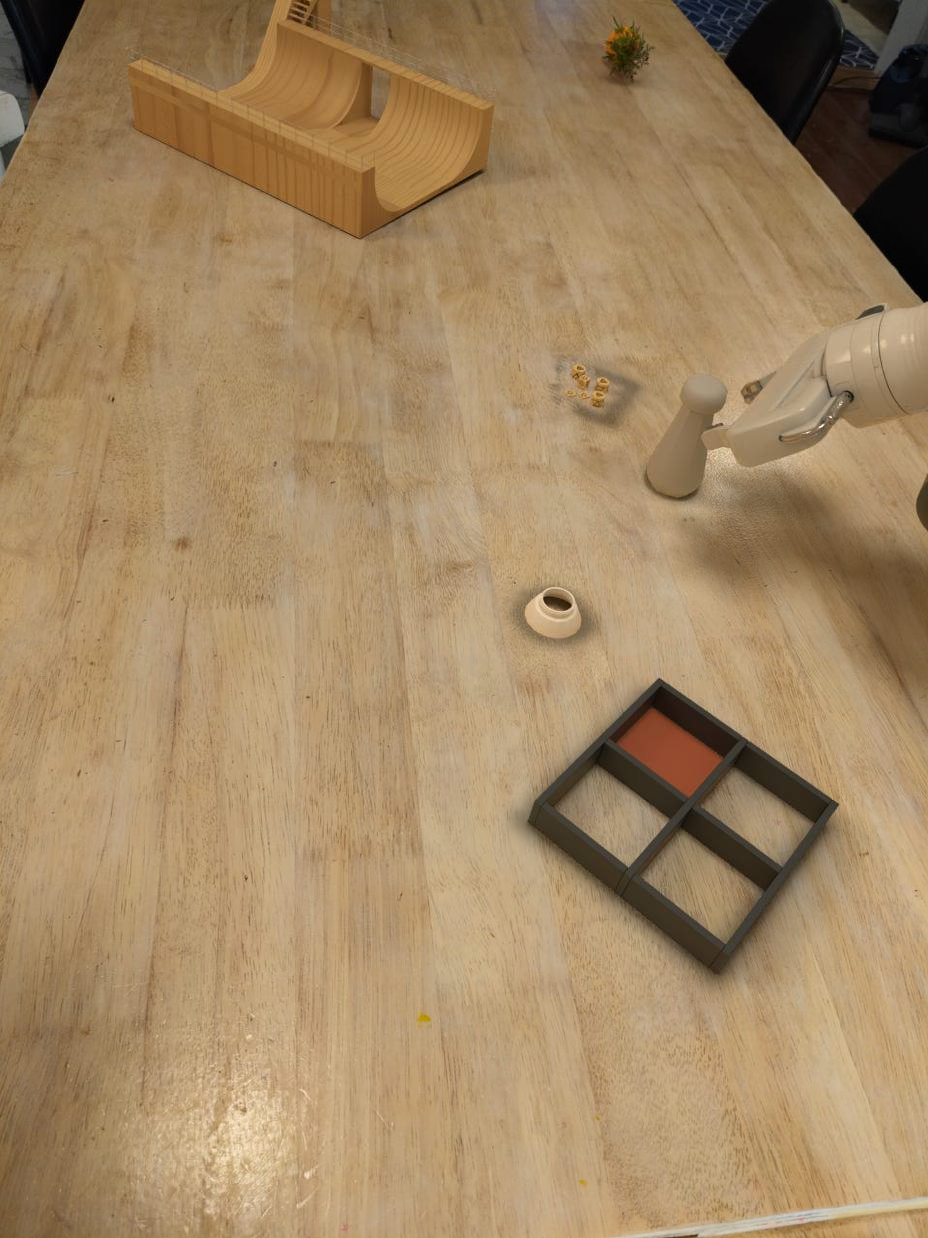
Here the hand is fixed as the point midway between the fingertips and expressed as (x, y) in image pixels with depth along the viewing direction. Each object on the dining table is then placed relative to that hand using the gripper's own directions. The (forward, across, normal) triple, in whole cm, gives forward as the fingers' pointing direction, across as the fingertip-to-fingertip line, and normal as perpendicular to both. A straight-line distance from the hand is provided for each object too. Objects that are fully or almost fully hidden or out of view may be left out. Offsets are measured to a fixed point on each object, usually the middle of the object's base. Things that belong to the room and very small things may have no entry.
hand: (726, 416), depth 96 cm
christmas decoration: (+50, +100, +34) cm, 118 cm away
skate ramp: (+61, +35, +45) cm, 83 cm away
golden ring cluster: (+20, +8, +4) cm, 22 cm away
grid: (-3, -36, -18) cm, 41 cm away
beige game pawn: (+10, 0, -6) cm, 11 cm away
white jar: (+10, -24, -6) cm, 27 cm away
